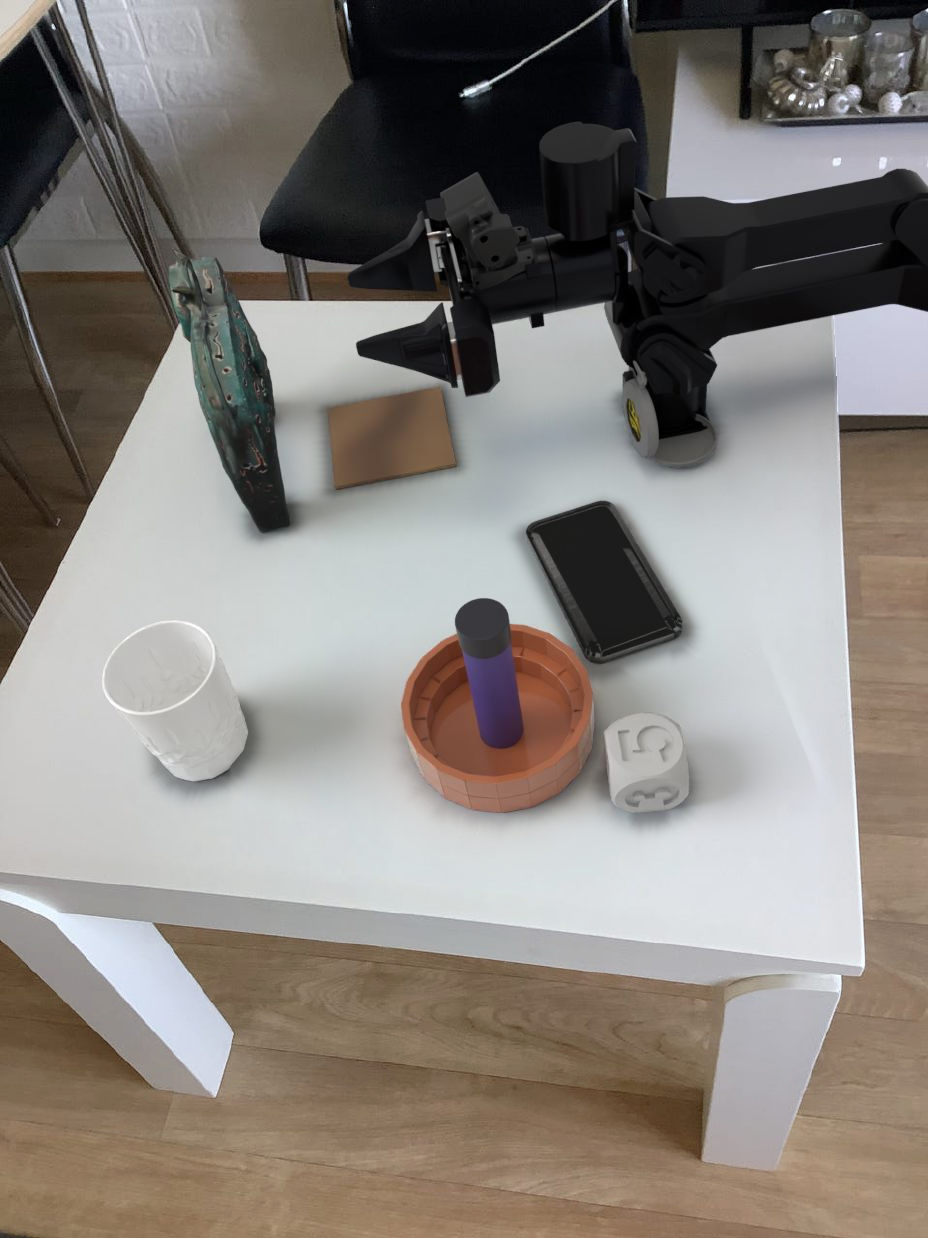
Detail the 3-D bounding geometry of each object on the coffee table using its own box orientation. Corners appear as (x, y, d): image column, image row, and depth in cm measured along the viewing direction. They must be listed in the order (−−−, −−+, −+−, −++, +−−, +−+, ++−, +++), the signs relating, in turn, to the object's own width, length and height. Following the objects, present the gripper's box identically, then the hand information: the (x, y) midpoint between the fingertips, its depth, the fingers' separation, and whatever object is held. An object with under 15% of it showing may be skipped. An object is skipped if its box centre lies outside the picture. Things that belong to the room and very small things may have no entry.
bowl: (573, 645, 80) (570, 608, 77) (612, 796, 72) (611, 762, 68) (403, 677, 80) (393, 642, 77) (423, 831, 72) (412, 799, 69)
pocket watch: (732, 438, 92) (741, 345, 84) (674, 495, 89) (679, 404, 81) (655, 402, 96) (657, 311, 88) (597, 455, 93) (595, 365, 85)
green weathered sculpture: (217, 405, 104) (143, 221, 88) (280, 388, 104) (219, 201, 88) (243, 545, 91) (163, 359, 76) (315, 524, 92) (250, 335, 76)
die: (603, 754, 74) (602, 715, 70) (675, 747, 74) (677, 708, 70) (613, 818, 71) (612, 781, 67) (687, 811, 71) (691, 773, 67)
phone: (589, 661, 78) (522, 525, 87) (590, 670, 78) (523, 534, 88) (688, 628, 78) (610, 496, 88) (688, 637, 79) (611, 505, 88)
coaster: (440, 389, 101) (440, 385, 101) (456, 466, 94) (455, 463, 94) (328, 410, 101) (327, 407, 101) (335, 489, 94) (334, 486, 94)
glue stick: (520, 706, 77) (503, 593, 67) (528, 745, 75) (512, 634, 65) (474, 714, 77) (451, 603, 67) (481, 754, 75) (458, 645, 65)
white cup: (274, 711, 80) (235, 631, 72) (227, 800, 76) (181, 725, 68) (185, 690, 82) (138, 610, 74) (134, 775, 78) (79, 700, 70)
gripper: (519, 116, 81) (321, 156, 82) (567, 247, 70) (337, 293, 70) (530, 245, 90) (351, 280, 90) (575, 380, 78) (370, 420, 79)
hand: (352, 313), depth 82 cm, fingers open, 9 cm apart
